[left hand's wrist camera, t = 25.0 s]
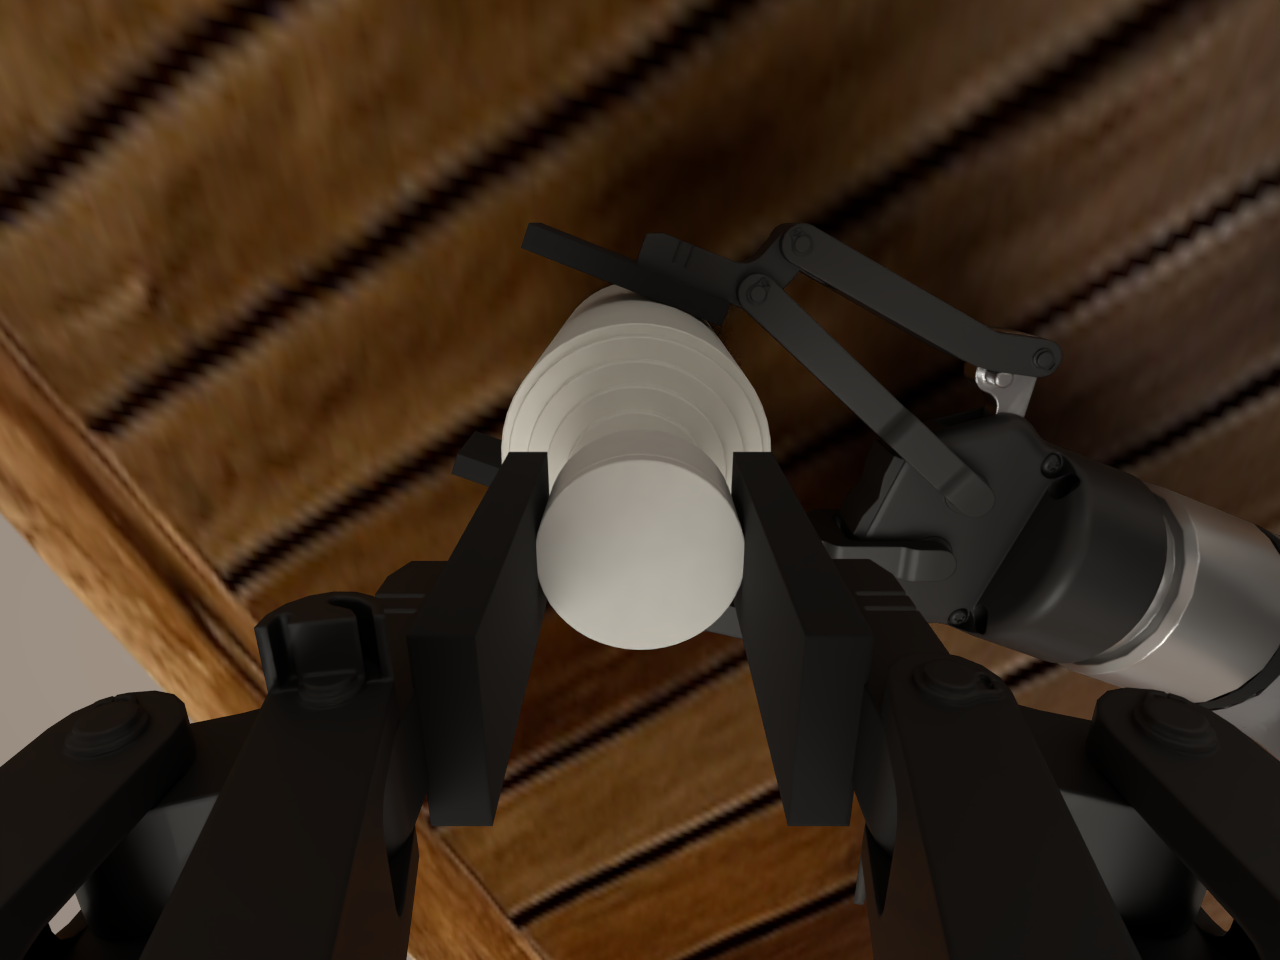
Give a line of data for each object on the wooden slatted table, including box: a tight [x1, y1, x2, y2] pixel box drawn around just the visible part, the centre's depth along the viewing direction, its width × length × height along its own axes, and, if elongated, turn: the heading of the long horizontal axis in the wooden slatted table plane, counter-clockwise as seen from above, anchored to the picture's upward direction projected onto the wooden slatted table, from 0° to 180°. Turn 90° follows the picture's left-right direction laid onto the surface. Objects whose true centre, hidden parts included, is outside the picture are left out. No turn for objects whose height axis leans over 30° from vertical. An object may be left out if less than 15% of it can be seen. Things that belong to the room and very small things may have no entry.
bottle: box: [501, 284, 771, 496], centre depth 22 cm, size 7×7×17 cm
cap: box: [536, 429, 745, 650], centre depth 13 cm, size 4×4×2 cm
